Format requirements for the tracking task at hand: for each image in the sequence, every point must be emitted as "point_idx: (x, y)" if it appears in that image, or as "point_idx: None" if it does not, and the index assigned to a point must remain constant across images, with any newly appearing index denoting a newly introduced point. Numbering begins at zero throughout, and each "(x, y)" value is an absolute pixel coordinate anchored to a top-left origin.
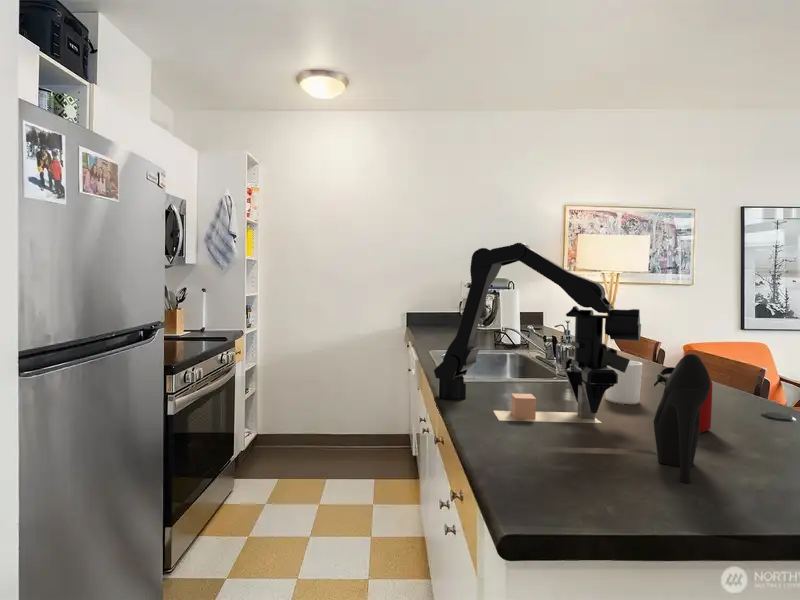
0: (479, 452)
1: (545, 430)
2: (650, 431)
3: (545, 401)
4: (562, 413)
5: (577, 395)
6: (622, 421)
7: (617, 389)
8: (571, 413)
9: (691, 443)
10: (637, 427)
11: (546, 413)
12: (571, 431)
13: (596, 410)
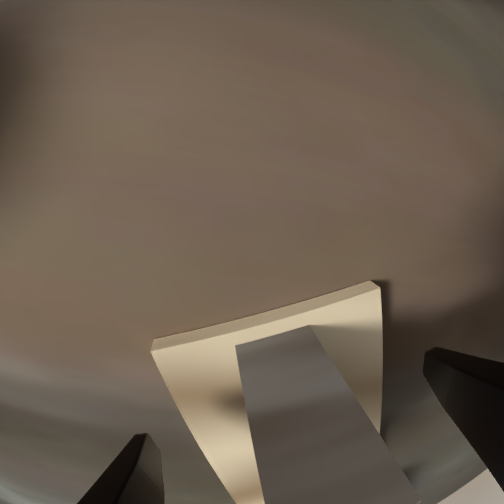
0: None
1: (420, 443)
2: (377, 33)
3: (8, 451)
4: (232, 457)
5: (156, 491)
6: (202, 129)
7: None
8: (214, 430)
9: None
10: (325, 68)
11: (258, 491)
12: None
13: (448, 355)
